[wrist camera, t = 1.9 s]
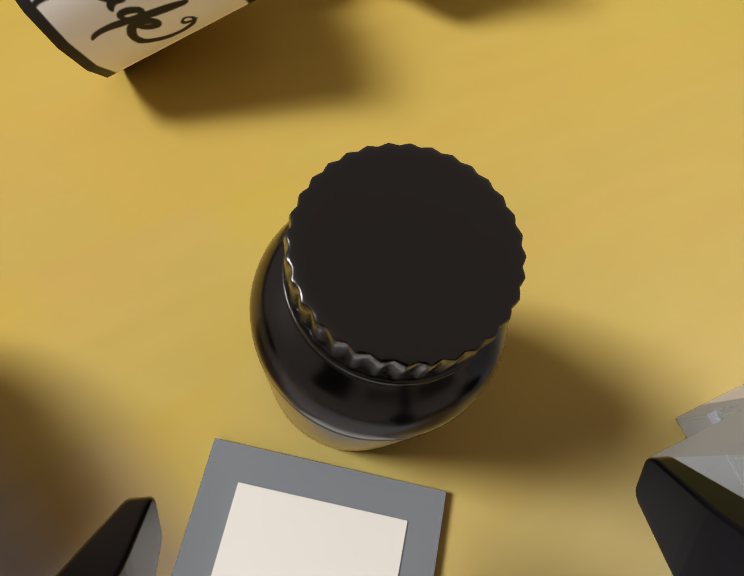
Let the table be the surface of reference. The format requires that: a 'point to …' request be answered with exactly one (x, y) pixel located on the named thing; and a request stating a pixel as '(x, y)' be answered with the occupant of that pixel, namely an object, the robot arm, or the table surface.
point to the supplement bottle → (386, 296)
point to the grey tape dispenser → (121, 27)
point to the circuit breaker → (714, 440)
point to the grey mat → (306, 519)
